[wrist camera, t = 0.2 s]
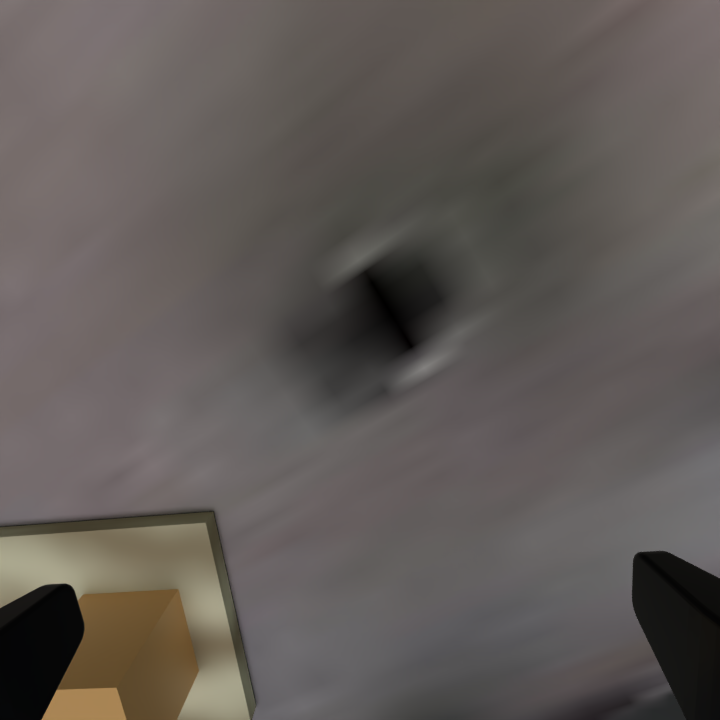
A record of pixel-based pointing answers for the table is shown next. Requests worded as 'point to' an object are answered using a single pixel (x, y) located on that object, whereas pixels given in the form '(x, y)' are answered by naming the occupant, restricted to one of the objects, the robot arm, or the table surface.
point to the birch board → (145, 588)
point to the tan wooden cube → (128, 660)
